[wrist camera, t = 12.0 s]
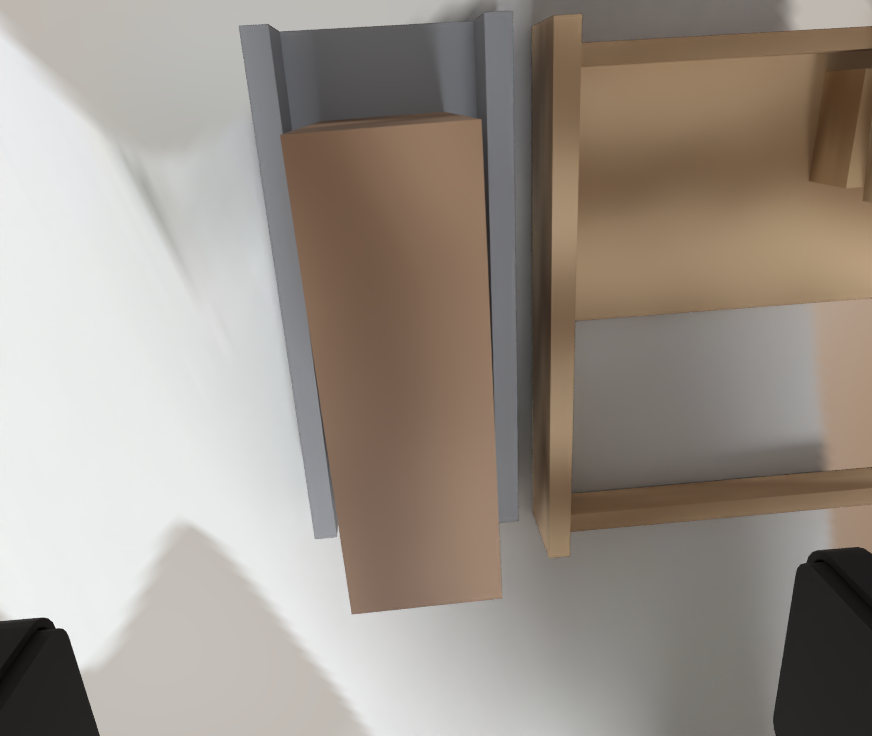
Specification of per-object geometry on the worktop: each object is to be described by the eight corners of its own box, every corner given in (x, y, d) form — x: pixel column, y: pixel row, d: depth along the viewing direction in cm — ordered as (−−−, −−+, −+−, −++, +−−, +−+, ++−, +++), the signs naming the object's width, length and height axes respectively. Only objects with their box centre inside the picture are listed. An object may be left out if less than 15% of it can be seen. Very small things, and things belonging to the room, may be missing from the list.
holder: (506, 482, 28) (518, 520, 25) (321, 498, 27) (315, 539, 25) (497, 21, 21) (512, 10, 19) (256, 34, 21) (238, 26, 18)
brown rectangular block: (444, 111, 22) (481, 119, 13) (464, 439, 26) (502, 598, 18) (320, 121, 22) (280, 135, 13) (362, 449, 26) (351, 614, 18)
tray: (1035, 468, 29) (1103, 506, 27) (532, 513, 28) (549, 558, 26) (1189, -11, 22) (1303, -27, 20) (531, 26, 21) (553, 15, 19)
